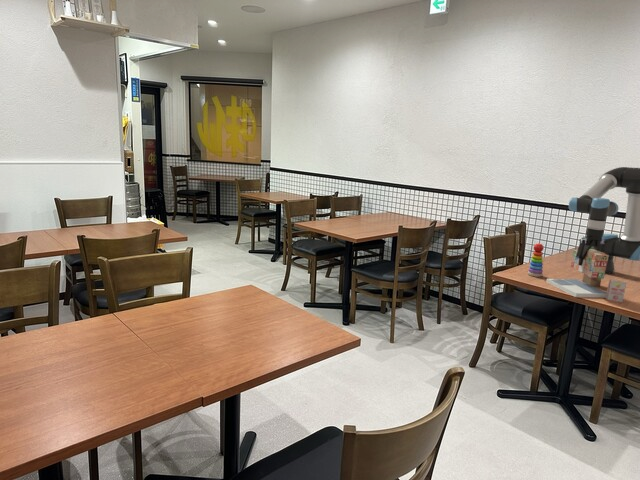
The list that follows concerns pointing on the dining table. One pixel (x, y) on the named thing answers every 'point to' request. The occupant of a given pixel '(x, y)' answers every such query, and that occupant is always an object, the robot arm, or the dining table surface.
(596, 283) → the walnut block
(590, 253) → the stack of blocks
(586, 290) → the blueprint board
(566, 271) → the dining table surface
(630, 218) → the robot arm
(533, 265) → the stacking toy
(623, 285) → the white red printed box
